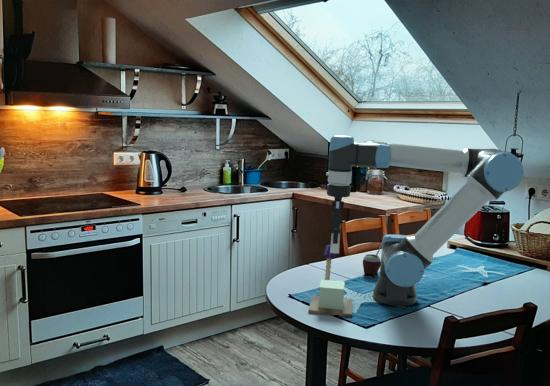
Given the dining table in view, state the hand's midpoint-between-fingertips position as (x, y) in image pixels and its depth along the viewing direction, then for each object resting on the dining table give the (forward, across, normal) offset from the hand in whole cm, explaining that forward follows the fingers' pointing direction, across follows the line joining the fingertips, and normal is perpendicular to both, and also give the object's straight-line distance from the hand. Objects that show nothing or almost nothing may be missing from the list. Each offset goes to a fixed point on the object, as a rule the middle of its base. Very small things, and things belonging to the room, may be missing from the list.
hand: (335, 247), depth 179 cm
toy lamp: (+21, -17, -2) cm, 27 cm away
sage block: (+20, 0, 0) cm, 20 cm away
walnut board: (+21, 0, 0) cm, 21 cm away
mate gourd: (+21, -39, +15) cm, 47 cm away
